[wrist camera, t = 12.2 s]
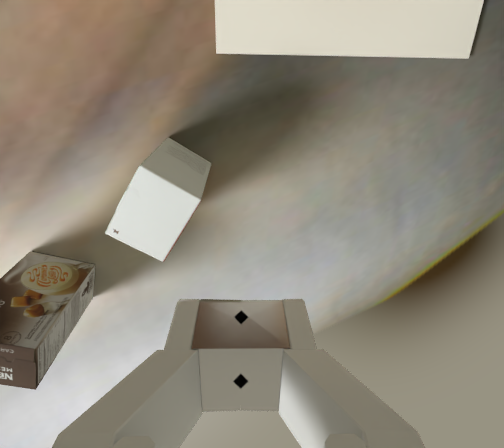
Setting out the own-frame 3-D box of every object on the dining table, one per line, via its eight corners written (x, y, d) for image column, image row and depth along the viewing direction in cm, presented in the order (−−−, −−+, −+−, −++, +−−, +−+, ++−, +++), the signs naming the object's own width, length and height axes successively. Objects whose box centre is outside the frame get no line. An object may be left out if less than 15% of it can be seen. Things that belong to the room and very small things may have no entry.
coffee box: (30, 286, 50) (-58, 378, 35) (30, 249, 47) (-66, 332, 32) (94, 298, 51) (35, 391, 36) (97, 263, 48) (34, 348, 34)
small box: (183, 212, 45) (162, 264, 33) (140, 188, 44) (101, 234, 32) (213, 162, 42) (202, 200, 31) (168, 134, 41) (138, 163, 29)
